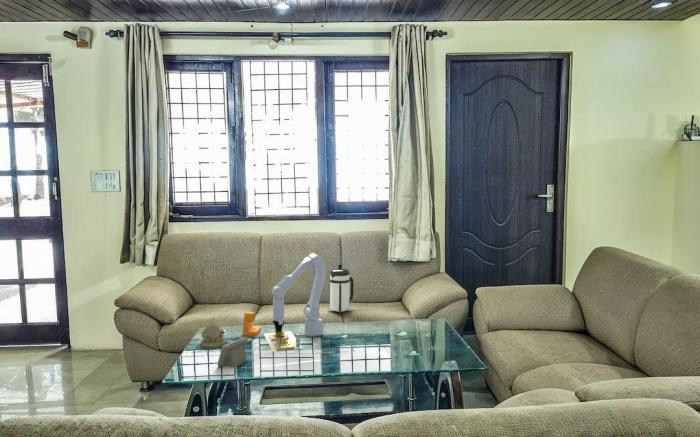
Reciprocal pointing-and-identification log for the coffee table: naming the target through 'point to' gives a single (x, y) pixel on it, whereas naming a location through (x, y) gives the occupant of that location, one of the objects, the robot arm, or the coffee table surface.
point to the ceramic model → (213, 337)
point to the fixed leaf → (283, 343)
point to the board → (291, 339)
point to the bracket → (250, 325)
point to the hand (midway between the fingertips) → (278, 334)
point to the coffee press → (340, 289)
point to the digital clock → (233, 353)
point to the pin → (297, 339)
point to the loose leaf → (273, 336)
